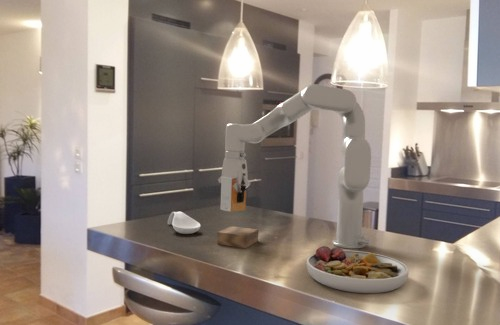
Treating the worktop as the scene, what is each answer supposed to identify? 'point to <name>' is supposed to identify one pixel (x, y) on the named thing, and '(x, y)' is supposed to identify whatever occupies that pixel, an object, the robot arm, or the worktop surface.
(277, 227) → the worktop surface
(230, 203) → the small box
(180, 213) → the spoon rest
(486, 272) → the worktop surface
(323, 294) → the worktop surface
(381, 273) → the bowl
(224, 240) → the tan block
